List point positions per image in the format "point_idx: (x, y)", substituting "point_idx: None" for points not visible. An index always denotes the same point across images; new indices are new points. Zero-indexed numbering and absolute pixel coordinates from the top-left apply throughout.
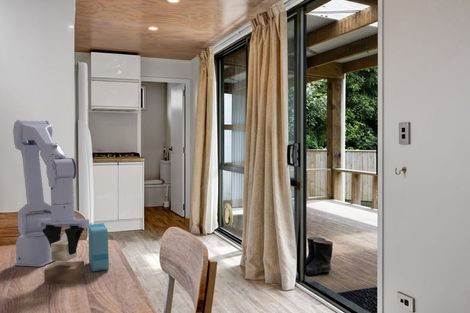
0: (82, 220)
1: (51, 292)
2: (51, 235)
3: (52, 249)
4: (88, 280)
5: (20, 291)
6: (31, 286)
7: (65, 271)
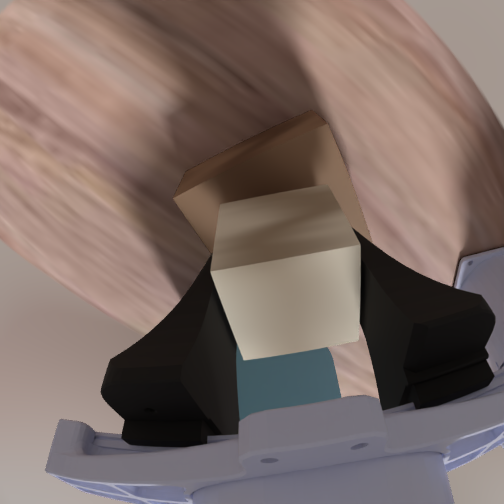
0: (95, 486)
1: (180, 43)
2: (388, 306)
3: (336, 222)
4: (161, 213)
5: (332, 4)
6: (341, 65)
7: (219, 170)
